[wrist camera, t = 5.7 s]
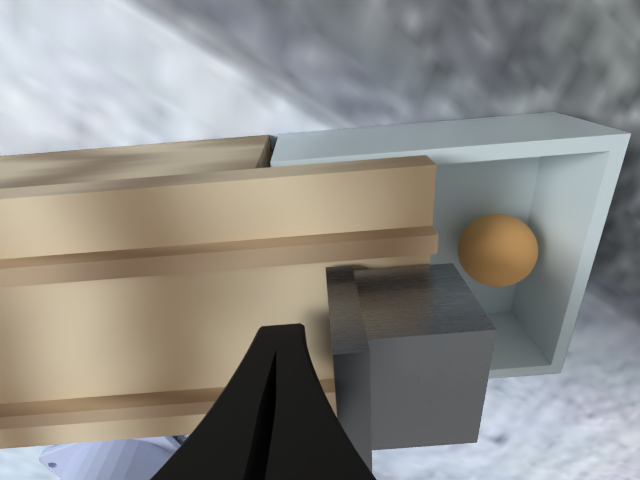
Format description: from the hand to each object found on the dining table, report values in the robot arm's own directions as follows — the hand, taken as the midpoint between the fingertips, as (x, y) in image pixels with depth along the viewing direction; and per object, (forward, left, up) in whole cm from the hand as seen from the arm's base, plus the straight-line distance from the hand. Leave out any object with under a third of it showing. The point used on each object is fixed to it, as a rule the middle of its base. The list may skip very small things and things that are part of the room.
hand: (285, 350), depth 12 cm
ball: (-3, -8, -5) cm, 10 cm away
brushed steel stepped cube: (-1, -3, -1) cm, 3 cm away
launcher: (+2, +5, -7) cm, 9 cm away
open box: (-2, -5, -7) cm, 9 cm away
